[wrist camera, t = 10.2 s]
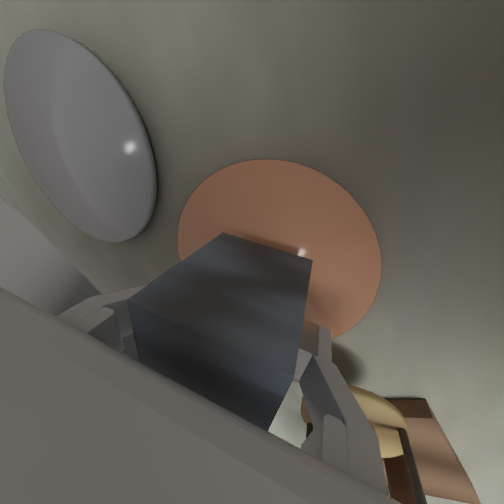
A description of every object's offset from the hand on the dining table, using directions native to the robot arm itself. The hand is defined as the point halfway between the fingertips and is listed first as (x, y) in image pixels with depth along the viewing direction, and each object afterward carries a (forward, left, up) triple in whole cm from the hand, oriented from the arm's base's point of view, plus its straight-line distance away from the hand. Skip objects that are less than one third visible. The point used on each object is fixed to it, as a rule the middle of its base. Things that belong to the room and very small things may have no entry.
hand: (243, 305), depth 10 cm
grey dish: (+15, -4, -5) cm, 16 cm away
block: (0, 0, -2) cm, 2 cm away
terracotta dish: (0, 0, -5) cm, 5 cm away
